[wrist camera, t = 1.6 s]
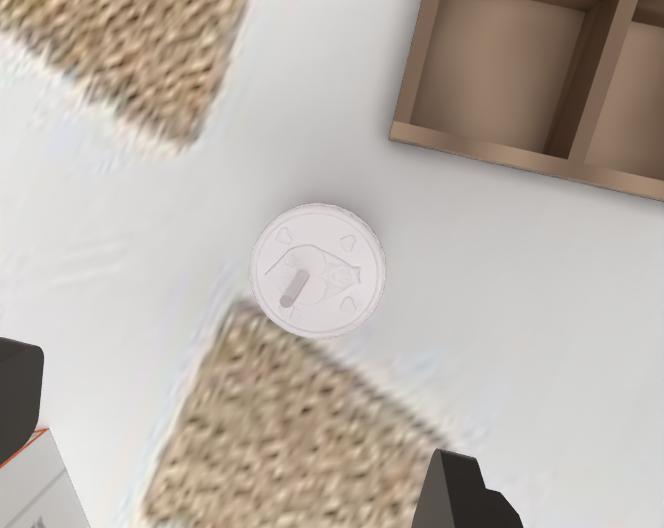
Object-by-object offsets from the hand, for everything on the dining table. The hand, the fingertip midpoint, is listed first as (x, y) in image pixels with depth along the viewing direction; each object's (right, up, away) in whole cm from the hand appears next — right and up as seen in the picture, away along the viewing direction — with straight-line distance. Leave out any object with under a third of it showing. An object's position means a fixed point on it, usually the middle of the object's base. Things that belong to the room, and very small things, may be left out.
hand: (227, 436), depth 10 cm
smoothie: (+2, +5, +23) cm, 23 cm away
